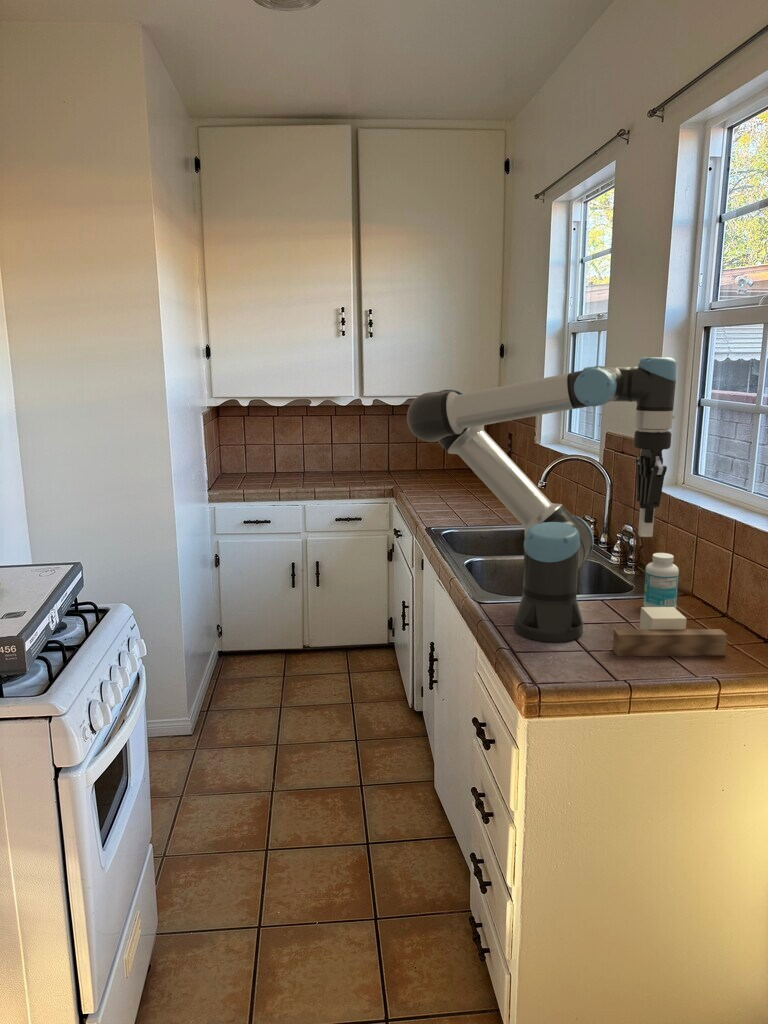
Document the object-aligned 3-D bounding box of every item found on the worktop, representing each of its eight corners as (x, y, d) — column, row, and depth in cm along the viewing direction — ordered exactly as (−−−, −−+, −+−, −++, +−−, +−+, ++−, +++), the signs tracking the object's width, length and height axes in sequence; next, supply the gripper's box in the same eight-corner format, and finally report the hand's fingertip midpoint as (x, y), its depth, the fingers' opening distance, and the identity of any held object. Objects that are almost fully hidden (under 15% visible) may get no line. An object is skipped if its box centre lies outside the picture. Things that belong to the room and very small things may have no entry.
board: (617, 655, 149) (618, 635, 148) (612, 650, 152) (614, 629, 151) (725, 655, 149) (727, 634, 148) (718, 649, 152) (720, 629, 151)
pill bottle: (649, 602, 181) (653, 549, 179) (680, 608, 177) (684, 554, 174) (638, 610, 176) (642, 555, 173) (669, 616, 171) (674, 561, 168)
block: (650, 650, 152) (652, 618, 151) (638, 637, 159) (641, 607, 157) (683, 650, 152) (686, 618, 151) (671, 637, 159) (673, 606, 157)
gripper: (682, 433, 152) (673, 543, 157) (659, 427, 164) (652, 529, 169) (645, 433, 152) (637, 543, 157) (626, 427, 165) (619, 529, 170)
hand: (645, 535), depth 163 cm, fingers closed
